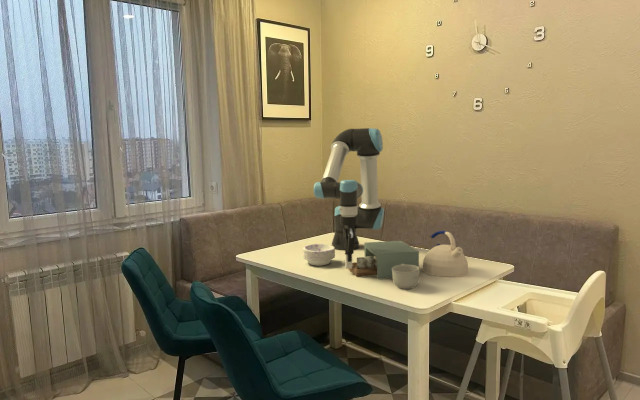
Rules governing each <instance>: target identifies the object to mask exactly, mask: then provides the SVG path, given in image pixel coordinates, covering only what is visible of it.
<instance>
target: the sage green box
mask: <svg viewBox="0 0 640 400" xmlns="http://www.w3.org/2000/svg"><path fill="white" fill-rule="evenodd" d="M419 255H420V251H419V250H417V249H416V248H415V247H413V246H410V244H408V243H406V242H405V241H403V240H390V241H389V240H387V241H385V240H384V241H368V242H367V241H366V242H364V258H365V257H367V256H371V257H373V261H374V256H376V257H377V275H376V278H377V279H378V280H385V279H393V276H392V268H393V267H394V266H397V265H401V264H406V265H415V266H418V267H419V268H420V256H419Z"/></svg>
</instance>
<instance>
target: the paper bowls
mask: <svg viewBox="0 0 640 400" xmlns="http://www.w3.org/2000/svg"><path fill="white" fill-rule="evenodd" d="M302 249H303V250H302V251H303V252H302V254H303V256H302V257H303V259H304V260H306V261H307V263H308V264H309V265H311V266H318V267H319V266H325V265H329V264H330V263H331V261H332V260H333V259H335V258H336V249H335V247H334V246H332V244H327V243H326V244H325V243H313V244H308V245H305V246H303V248H302Z"/></svg>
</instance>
